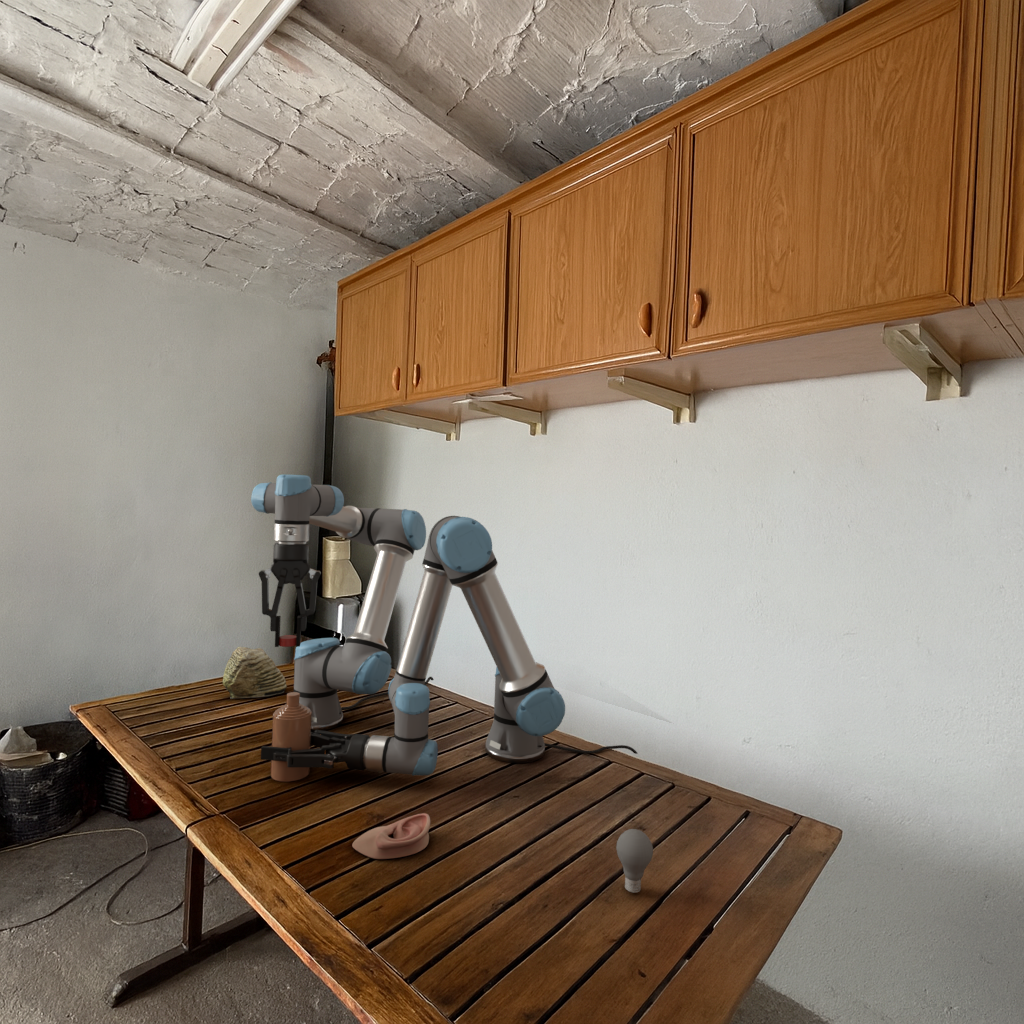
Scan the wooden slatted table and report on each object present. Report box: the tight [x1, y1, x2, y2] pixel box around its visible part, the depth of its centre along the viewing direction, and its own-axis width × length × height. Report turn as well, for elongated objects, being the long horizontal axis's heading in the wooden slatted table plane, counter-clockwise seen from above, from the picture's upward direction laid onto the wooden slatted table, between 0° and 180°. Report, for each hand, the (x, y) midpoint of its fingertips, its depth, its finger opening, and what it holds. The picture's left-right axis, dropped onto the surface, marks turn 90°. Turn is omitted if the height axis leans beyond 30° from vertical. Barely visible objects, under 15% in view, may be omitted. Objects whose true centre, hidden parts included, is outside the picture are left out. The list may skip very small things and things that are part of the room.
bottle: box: [270, 691, 312, 783], centre depth 144 cm, size 8×8×18 cm
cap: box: [279, 634, 297, 648], centre depth 144 cm, size 4×4×2 cm
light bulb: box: [615, 828, 654, 894], centre depth 106 cm, size 6×6×10 cm
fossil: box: [222, 646, 288, 699], centre depth 198 cm, size 9×18×15 cm, turn 132°
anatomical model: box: [351, 812, 431, 860], centre depth 117 cm, size 13×4×12 cm
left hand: (287, 645), depth 144 cm, fingers closed on cap, 4 cm apart
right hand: (271, 744), depth 144 cm, fingers closed on bottle, 8 cm apart
